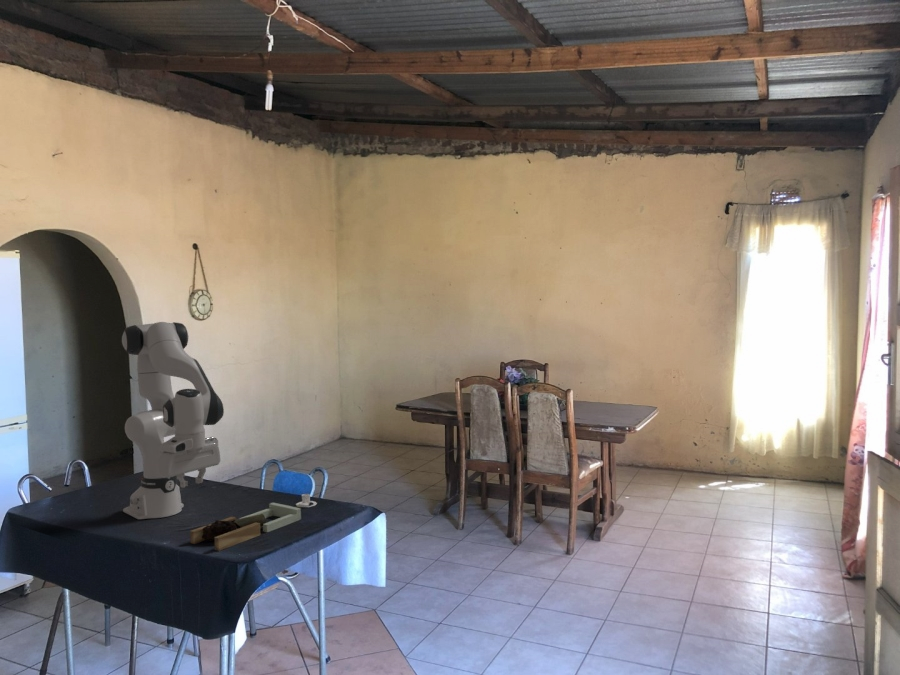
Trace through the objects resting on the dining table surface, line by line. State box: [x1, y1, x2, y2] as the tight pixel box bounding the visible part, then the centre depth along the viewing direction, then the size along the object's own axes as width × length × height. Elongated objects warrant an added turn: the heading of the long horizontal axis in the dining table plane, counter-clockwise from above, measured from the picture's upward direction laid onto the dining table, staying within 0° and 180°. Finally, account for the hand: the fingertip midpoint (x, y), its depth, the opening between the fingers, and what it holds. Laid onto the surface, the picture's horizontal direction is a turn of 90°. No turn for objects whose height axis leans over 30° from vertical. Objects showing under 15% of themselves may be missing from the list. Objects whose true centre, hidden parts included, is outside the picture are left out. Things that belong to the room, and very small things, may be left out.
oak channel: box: [189, 516, 261, 552], centre depth 229 cm, size 14×17×4 cm
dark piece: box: [202, 514, 267, 542], centre depth 232 cm, size 21×8×7 cm, turn 134°
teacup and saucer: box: [295, 493, 318, 508], centre depth 266 cm, size 9×8×4 cm
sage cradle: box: [238, 502, 302, 533], centre depth 246 cm, size 14×16×4 cm
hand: (191, 484), depth 218 cm, fingers open, 4 cm apart
